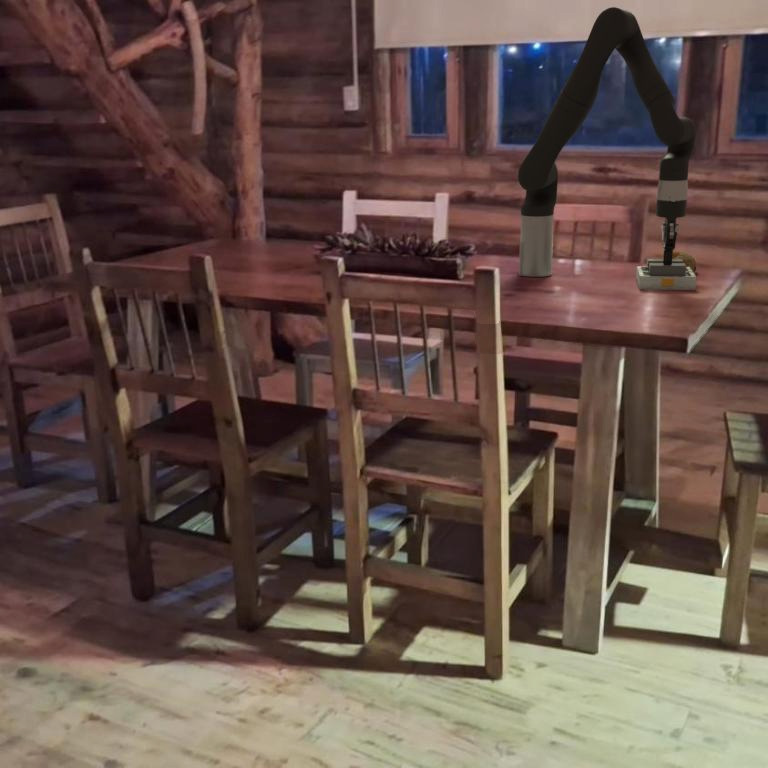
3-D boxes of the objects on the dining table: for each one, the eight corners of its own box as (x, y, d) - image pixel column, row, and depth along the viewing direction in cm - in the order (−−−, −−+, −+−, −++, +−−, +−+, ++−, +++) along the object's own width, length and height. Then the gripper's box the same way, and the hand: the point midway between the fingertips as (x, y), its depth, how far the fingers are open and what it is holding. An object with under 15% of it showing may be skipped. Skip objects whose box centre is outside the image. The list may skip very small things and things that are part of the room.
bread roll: (688, 289, 247) (703, 264, 244) (654, 272, 249) (669, 247, 246) (688, 282, 256) (702, 258, 253) (656, 266, 258) (670, 242, 255)
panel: (648, 284, 232) (650, 265, 230) (648, 281, 235) (649, 262, 234) (684, 284, 230) (686, 265, 228) (683, 281, 233) (684, 263, 232)
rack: (639, 289, 230) (640, 267, 228) (636, 278, 244) (637, 257, 243) (695, 290, 227) (697, 267, 225) (688, 279, 242) (690, 257, 240)
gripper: (654, 195, 233) (650, 260, 238) (658, 200, 220) (654, 268, 226) (684, 195, 231) (679, 260, 236) (690, 200, 219) (684, 269, 224)
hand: (667, 264), depth 231 cm, fingers closed
